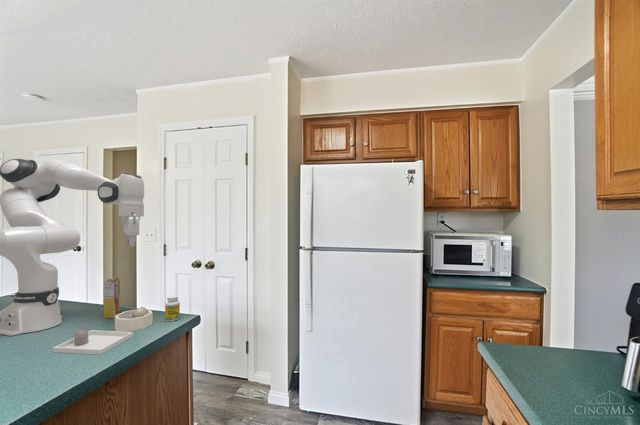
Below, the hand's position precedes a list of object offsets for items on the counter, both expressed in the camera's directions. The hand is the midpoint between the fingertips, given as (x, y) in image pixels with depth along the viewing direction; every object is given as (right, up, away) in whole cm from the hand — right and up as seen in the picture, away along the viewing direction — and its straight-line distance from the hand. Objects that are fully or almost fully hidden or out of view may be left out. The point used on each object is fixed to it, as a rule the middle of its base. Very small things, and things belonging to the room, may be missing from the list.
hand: (130, 245), depth 121 cm
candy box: (-12, -31, +6) cm, 34 cm away
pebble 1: (-1, -30, -24) cm, 38 cm away
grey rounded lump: (+5, -30, -7) cm, 31 cm away
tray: (+4, -31, -24) cm, 39 cm away
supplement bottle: (+17, -32, +1) cm, 36 cm away
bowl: (+6, -31, -7) cm, 32 cm away
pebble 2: (+7, -27, -8) cm, 29 cm away
